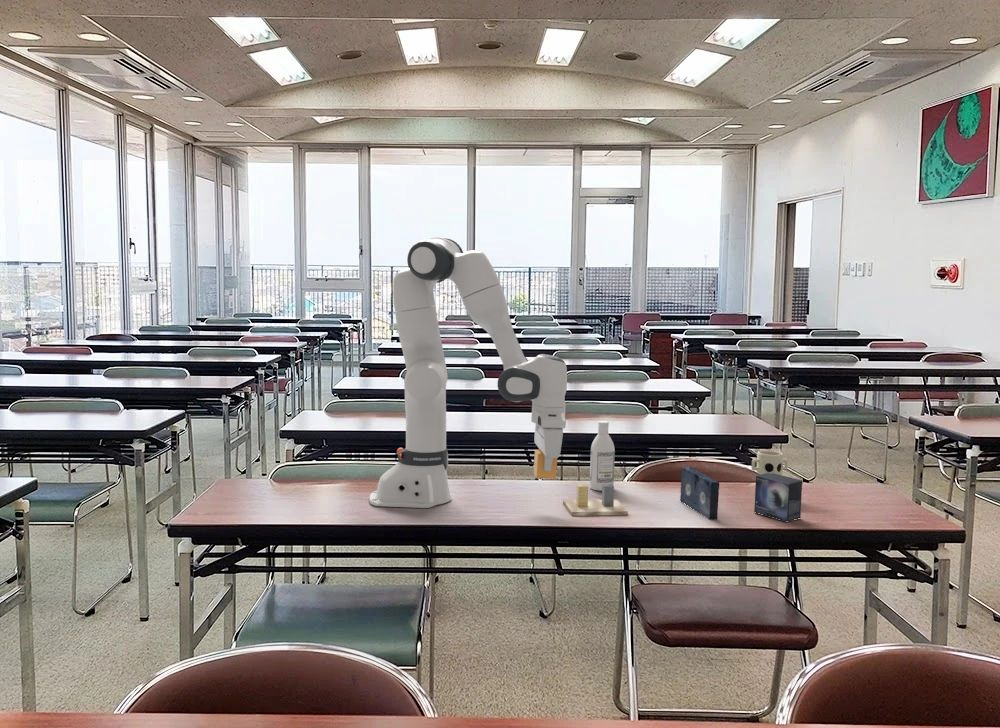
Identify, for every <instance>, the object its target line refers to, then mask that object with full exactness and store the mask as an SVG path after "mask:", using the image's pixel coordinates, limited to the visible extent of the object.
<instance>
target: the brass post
mask: <svg viewBox="0 0 1000 728" xmlns="http://www.w3.org/2000/svg"><path fill="white" fill-rule="evenodd" d="M575 498H576V499H575V500H576V505H577V506H578V507H588V500H589V486H588V484H587V483H585V484H582V483H580V484H578V483H577V484H576V497H575Z"/></svg>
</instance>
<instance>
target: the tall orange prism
mask: <svg viewBox="0 0 1000 728" xmlns="http://www.w3.org/2000/svg"><path fill="white" fill-rule="evenodd" d="M544 456H545V455H544V454H543V453H542V451H541V450H539V449H534V457H533V458H534V460H533V462H534V463H533V475H534V477H535V478H536V479H543V480H544V479H549V480H551V479H554V480H556V479H557V472H558V471H557V469H558V467H557V465H558V458H553V461H552V464H551V471H545V470H544V461H545V458H544Z"/></svg>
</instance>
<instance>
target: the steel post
mask: <svg viewBox="0 0 1000 728" xmlns="http://www.w3.org/2000/svg"><path fill="white" fill-rule="evenodd" d="M614 499H615V486H613V485H612V484H602V491H601V500H602V505H603V506H604V507H614Z"/></svg>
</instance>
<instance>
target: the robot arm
mask: <svg viewBox="0 0 1000 728" xmlns="http://www.w3.org/2000/svg"><path fill="white" fill-rule="evenodd" d="M407 254H408V255H407V257H406V258H407V261H406V262H407V266H408V267H406V268H403V269H401V270H399V271H398V272H397V273H396V274H395V276H394V278H393V283H392V284H393V286H392V288H393V289H392V290H393V293H392V294H393V295H392V297H393V306H394V313H395V319H396V320H395V321H396V325H397V326H396V327H397V332H398V339H399V342H400V346H401V350H402V354H403V360H404V364H405V369H406V373H405V376H404V409H405V448H403V447H399V448H397V450H396V454H397V459H398V460H397V461H398V462H397V463H395V464H394V465H393V466H392V467H391V468H389V469H388V470H386V471H385V472H384V473H382V475H381V476H380V478H379V480H378V483H377V489H376V490H374V491H372V492H371V493H370V494H369V499H368V501H369V503H370V504H371V505H372V506H375V507H392V508H393V507H394V508H398V507H399V508H415V509H416V508H419V509H430V508H433V507H435V506H437V505H438V506H439V505H442V504H446V503H448V502H450V501H451V500H452V495H451V490H450V487H449V480H448V472H447V470H448V466H449V453H448V448H447V402H446V401H447V382H448V378H449V377H448V370H447V364H446V358H445V354H444V353H445V352H444V347H443V343H442V342H443V341H442V339H441V332H440V326H439V319H438V313H437V307H436V301H435V293H434V291H435V290H434V289H435V286H436V284H438V283H442V282H444V281H446V280H447V279H448V280H450V281H452V282H453V283H454V284H455V286H456V289H457V290H458V293H459V295H460V298H461V301H462V304H463V306H464V307H465V310H466V312H467V314H468V315H469V317H470V318H471V320H472V322H473V323H474V324H476V325H477V326H479V327H480V328H482V329H483V330H484V331H486V333H488V336H489V337H490V338H491V340H492V341H493V344H494V346H495V348H496V352H497V353H498V355H499V357H500V361H501V362H502V366H503V371H502V372H501V373H500V375H499V376H498V379H497V389H498V392H499V395H501V397H503V398H504V399H505V400H507V401H508V402H513V403H520V402H521V403H522V402H526V401H531V402H532V403H531V404H532V405H531V416H530V417H531V419H530V420H531V422H532V423H533V424H534V444H535V445H536V446H537V448H538V450H541V451H542V453H543V454H544V455H545V456H544V458H545V461H544V470H545V471H551V464H552V461H553V458H557V459H558V458H560V455H561V452H562V451H561V450H562V443H563V435H564V429H566V425H567V422H566V421H567V420H566V400H565V396H566V393H567V388H568V369H567V364H566V362H565V361H564V359H562V358H561V357H558V356H556V355H553V354H549V353H548V354H546V353H540V354H538V355H536V356H535V357H533V358H531V359H530V360H529V359H528V358H527V357H526V356H525V354H524V351H523V350H522V348H521V345H520V343H519V340H518V337H517V335H516V333H515V330H514V329H513V325H512V321H511V317H510V312H509V309H508V303H507V299H506V297H505V296H506V295H505V292H504V289H503V287H502V284H501V281H500V279H499V277H498V275H497V273H496V270H495V269H494V267H493V265H492V263H491V262H490V260H489V259H488V257H487V255H486V254H485V253H484V252H482V251H480V250H467V251H465V252H464V251H463V248H462V247H461V246H460V244H459V243H457V241H454V240H452V239H450V238H445V237H444V238H443V237H432V238H429V239H427V238H426V239H421V240H419V241H417V242H416V243H414V244H413V245H412V246H411V248H410V249H409V251H408V253H407Z"/></svg>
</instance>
